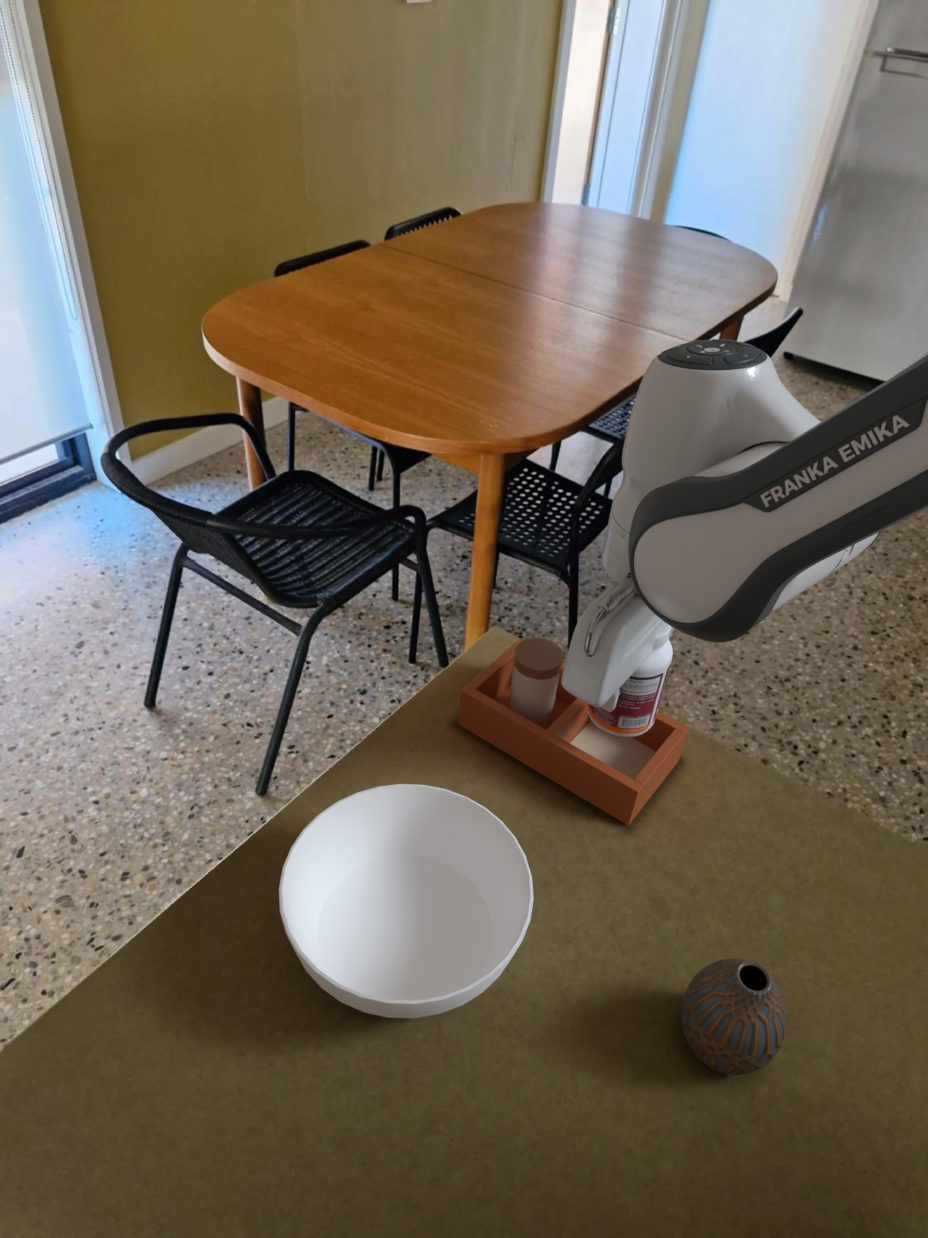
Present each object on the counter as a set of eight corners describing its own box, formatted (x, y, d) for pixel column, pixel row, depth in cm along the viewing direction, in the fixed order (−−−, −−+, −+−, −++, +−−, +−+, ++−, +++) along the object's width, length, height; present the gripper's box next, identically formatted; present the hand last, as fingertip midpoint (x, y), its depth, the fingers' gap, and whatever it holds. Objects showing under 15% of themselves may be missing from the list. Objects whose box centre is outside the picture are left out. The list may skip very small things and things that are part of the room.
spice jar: (549, 700, 89) (561, 638, 84) (554, 733, 85) (566, 671, 80) (504, 699, 89) (512, 636, 84) (507, 732, 85) (516, 669, 80)
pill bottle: (609, 681, 83) (631, 586, 76) (667, 714, 80) (695, 619, 73) (571, 715, 79) (590, 619, 72) (630, 751, 76) (656, 655, 69)
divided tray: (515, 671, 93) (520, 638, 90) (678, 761, 85) (689, 727, 82) (457, 724, 86) (460, 689, 84) (628, 826, 78) (638, 792, 75)
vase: (780, 1026, 65) (818, 962, 59) (753, 1110, 60) (792, 1050, 55) (690, 978, 67) (719, 912, 62) (658, 1055, 63) (686, 992, 57)
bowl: (233, 978, 65) (223, 923, 60) (368, 807, 78) (368, 751, 73) (453, 1107, 59) (460, 1057, 54) (559, 899, 72) (572, 844, 67)
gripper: (633, 631, 60) (599, 768, 69) (752, 512, 73) (711, 639, 82) (554, 593, 63) (532, 729, 71) (683, 484, 76) (650, 611, 84)
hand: (628, 680), depth 77 cm, fingers closed on pill bottle, 6 cm apart
